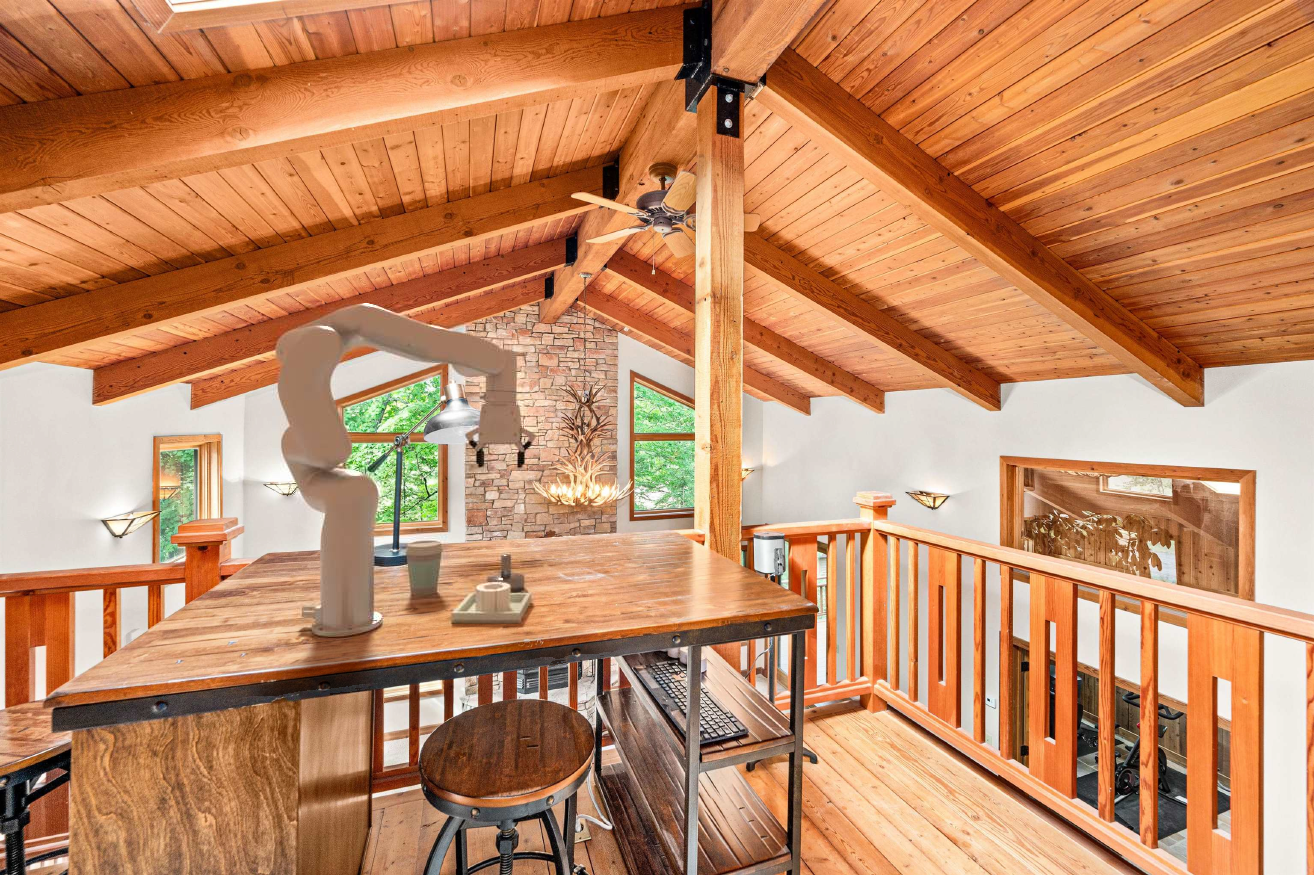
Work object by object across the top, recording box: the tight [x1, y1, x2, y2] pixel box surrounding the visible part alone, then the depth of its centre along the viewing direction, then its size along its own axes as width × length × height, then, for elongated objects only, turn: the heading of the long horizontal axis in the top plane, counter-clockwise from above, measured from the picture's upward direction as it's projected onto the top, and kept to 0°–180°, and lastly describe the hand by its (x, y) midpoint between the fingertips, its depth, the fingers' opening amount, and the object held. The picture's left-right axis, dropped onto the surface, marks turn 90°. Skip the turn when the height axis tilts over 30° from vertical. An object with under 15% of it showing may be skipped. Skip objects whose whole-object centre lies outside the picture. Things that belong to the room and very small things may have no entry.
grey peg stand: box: [486, 553, 525, 593], centre depth 143 cm, size 9×9×8 cm
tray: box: [450, 592, 532, 624], centre depth 127 cm, size 14×14×2 cm
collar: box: [475, 582, 511, 612], centre depth 127 cm, size 7×7×5 cm
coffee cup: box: [404, 539, 444, 597], centre depth 140 cm, size 8×8×12 cm
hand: (500, 467), depth 145 cm, fingers open, 9 cm apart
